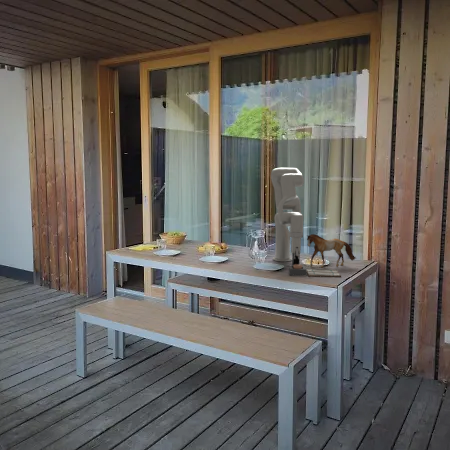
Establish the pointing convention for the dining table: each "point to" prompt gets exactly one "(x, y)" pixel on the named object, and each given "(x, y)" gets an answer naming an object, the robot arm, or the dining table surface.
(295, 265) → the button
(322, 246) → the horse figurine
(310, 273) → the board
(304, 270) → the button base
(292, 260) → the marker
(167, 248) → the dining table surface
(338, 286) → the dining table surface
